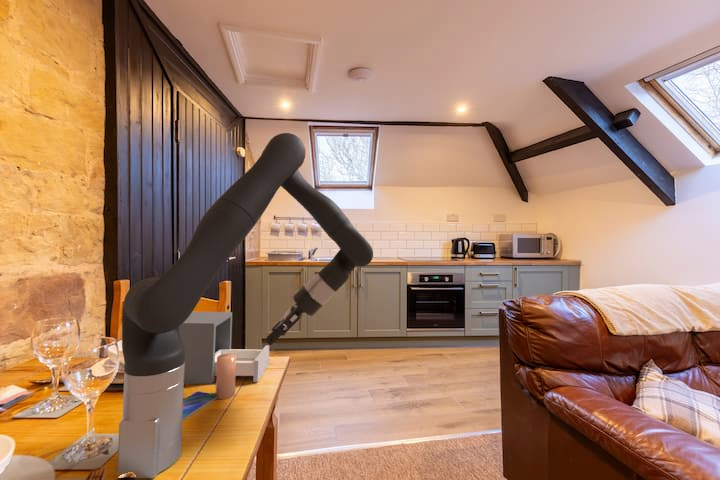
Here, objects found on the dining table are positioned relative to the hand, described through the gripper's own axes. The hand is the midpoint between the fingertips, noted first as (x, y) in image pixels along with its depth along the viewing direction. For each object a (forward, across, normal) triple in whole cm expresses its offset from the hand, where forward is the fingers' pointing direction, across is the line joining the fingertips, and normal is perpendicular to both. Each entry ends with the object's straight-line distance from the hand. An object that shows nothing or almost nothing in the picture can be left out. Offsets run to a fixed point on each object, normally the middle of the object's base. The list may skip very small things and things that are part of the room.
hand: (271, 337), depth 81 cm
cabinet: (+28, -13, -7) cm, 32 cm away
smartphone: (+24, +7, -2) cm, 25 cm away
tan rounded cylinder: (+19, 0, +2) cm, 19 cm away
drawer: (+19, -13, +2) cm, 23 cm away
